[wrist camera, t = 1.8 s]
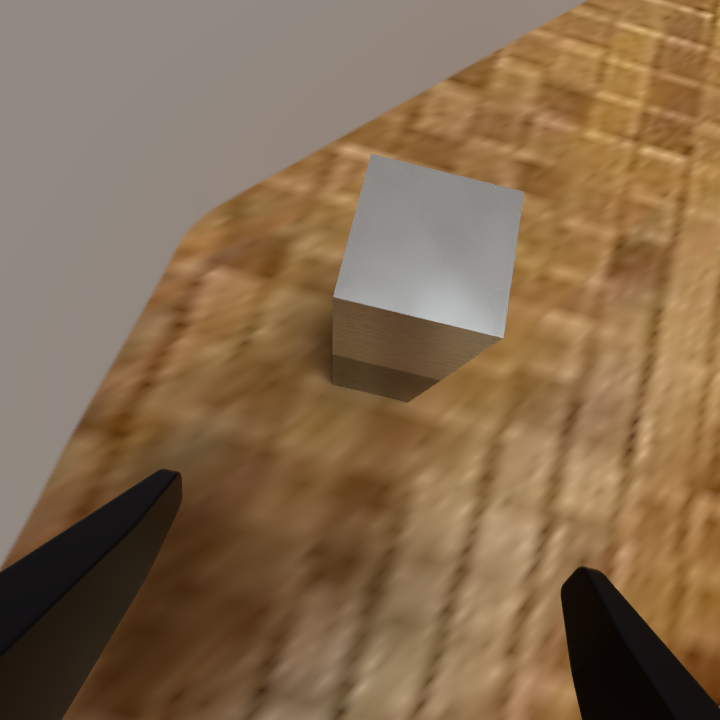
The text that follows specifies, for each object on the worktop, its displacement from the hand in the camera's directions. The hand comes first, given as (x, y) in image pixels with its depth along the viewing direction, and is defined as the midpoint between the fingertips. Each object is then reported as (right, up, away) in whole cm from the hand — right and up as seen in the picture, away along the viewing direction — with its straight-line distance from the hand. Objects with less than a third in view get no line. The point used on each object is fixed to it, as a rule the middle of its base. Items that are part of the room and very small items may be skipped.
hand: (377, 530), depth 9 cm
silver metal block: (+1, +4, +15) cm, 15 cm away
